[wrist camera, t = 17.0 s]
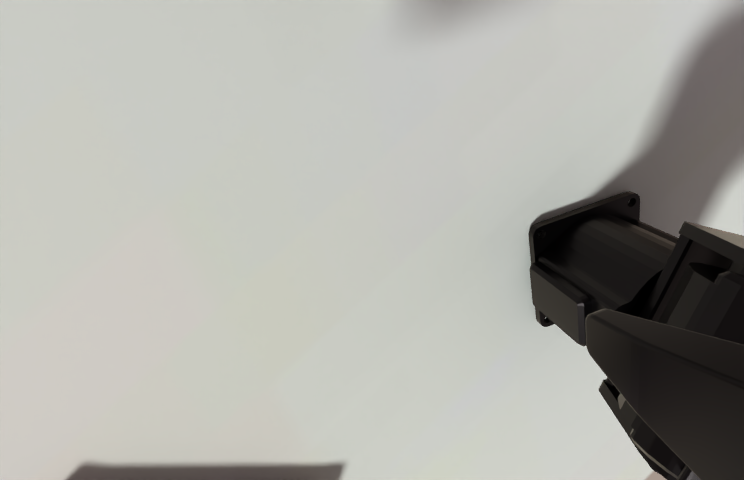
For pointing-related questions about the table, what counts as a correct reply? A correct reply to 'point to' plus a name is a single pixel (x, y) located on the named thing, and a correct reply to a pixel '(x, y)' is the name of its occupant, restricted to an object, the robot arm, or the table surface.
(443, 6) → the table surface
